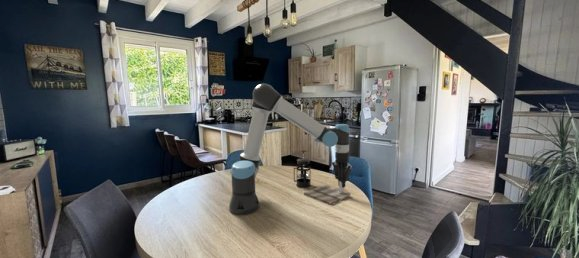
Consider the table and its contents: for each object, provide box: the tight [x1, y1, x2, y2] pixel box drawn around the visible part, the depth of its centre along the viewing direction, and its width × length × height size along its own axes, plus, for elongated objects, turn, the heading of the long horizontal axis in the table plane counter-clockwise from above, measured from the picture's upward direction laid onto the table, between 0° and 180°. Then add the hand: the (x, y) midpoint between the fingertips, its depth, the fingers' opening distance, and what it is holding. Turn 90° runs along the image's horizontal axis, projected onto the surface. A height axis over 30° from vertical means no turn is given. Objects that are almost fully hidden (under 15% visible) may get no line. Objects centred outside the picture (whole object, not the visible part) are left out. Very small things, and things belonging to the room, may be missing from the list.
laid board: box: [303, 188, 341, 206], centre depth 137 cm, size 20×8×2 cm, turn 40°
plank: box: [313, 184, 351, 202], centre depth 143 cm, size 20×9×1 cm, turn 40°
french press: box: [293, 149, 312, 189], centre depth 157 cm, size 12×9×23 cm
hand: (341, 192), depth 139 cm, fingers closed
